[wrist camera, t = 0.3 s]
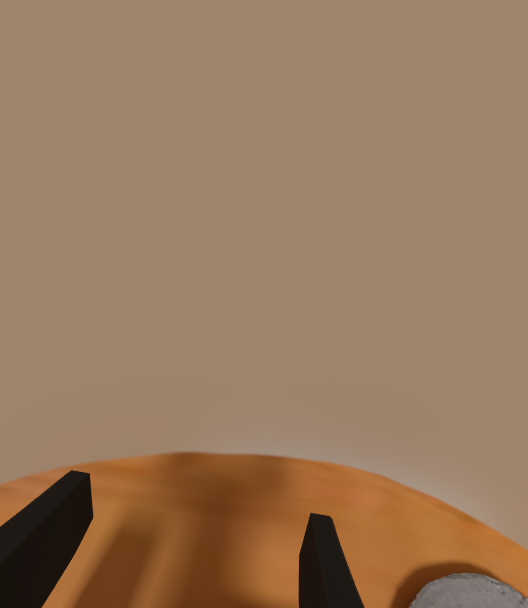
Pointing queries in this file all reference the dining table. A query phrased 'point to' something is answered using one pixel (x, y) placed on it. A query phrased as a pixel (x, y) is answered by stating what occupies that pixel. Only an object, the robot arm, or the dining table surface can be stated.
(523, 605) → the food plate
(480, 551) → the dining table surface
